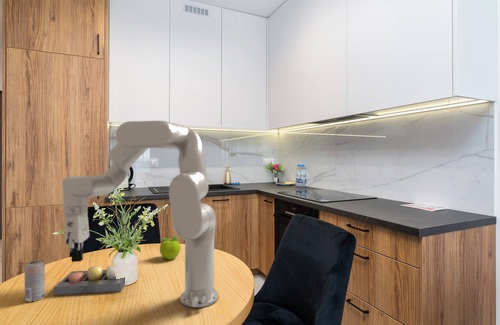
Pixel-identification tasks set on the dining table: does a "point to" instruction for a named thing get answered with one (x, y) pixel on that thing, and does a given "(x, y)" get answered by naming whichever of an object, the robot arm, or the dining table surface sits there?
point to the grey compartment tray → (89, 285)
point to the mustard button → (95, 273)
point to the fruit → (170, 248)
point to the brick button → (76, 277)
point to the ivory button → (111, 273)
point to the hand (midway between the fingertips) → (77, 260)
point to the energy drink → (34, 280)
